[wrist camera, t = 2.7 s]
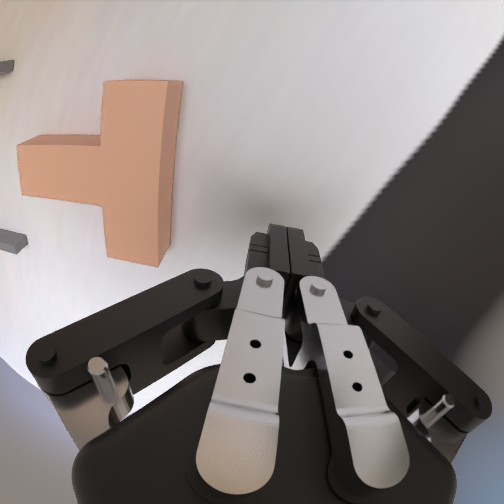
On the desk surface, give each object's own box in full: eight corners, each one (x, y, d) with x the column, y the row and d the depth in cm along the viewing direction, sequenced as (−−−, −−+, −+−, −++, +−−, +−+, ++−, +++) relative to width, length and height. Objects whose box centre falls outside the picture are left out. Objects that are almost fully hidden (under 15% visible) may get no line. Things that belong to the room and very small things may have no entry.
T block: (41, 87, 15) (15, 92, 12) (183, 81, 15) (167, 81, 13) (49, 222, 21) (30, 239, 19) (170, 244, 22) (157, 267, 19)
